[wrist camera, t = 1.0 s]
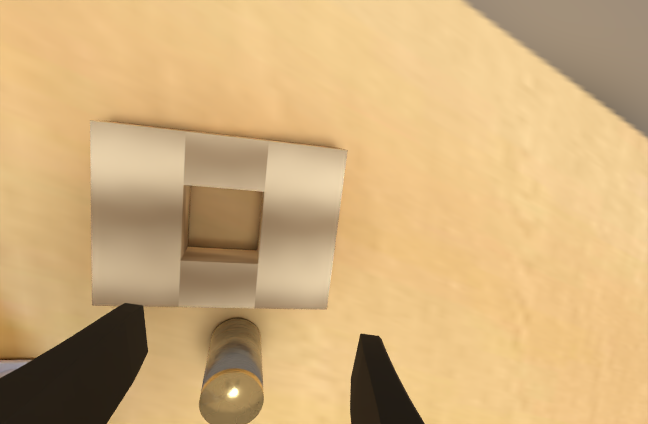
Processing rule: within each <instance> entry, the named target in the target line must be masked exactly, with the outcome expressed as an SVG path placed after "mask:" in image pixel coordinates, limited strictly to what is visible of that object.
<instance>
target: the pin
mask: <svg viewBox="0 0 648 424" xmlns="http://www.w3.org/2000/svg"><path fill="white" fill-rule="evenodd" d="M263 401H264V396H263V375H262V354H261V336H260V332H259V330H258V328H257V327H256V326H255V325H254V324H253V323H252V322H250V321H248V320H245V319H238V318H237V319H230V320H227V321H225V322H223V323H221V324H220V325H219V326H218V327H217V328H216V329H215V330H214V332H213V334H212V337H211V342H210V347H209V353H208V358H207V363H206V369H205V374H204V379H203V385H202V390H201V395H200V401H199V408H200V412H201V414H202V416H203V417H204V419H205V420H206V421H207V422H208V423H210V424H247V423H249V422H250V421H252V420H253V419H254V418H255V417H256V416H257V415H258V414H259V412H260V410H261V408H262V405H263Z"/></svg>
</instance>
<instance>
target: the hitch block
mask: <svg viewBox="0 0 648 424" xmlns="http://www.w3.org/2000/svg"><path fill="white" fill-rule="evenodd" d="M90 151H91V240H92V305H94V306H120V305H122V304H124V303H130V304H138V305H143V306H152V307H211V308H269V309H327V303H328V296H329V288H330V280H331V273H332V265H333V257H334V250H335V242H336V235H337V227H338V219H339V212H340V204H341V197H342V189H343V181H344V174H345V166H346V158H347V151H348V150H344V149H340V148H334V147H325V146H317V145H308V144H300V143H291V142H282V141H274V140H265V139H257V138H248V137H240V136H231V135H222V134H214V133H205V132H197V131H188V130H179V129H171V128H162V127H154V126H145V125H137V124H128V123H119V122H111V121H92V120H90ZM190 186H202V187H214V188H226V189H237V190H249V191H261V192H262V204H261V215H260V227H259V239H258V250H240V249H220V248H201V247H188V231H189V208H190Z"/></svg>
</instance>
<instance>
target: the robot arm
mask: <svg viewBox="0 0 648 424" xmlns="http://www.w3.org/2000/svg"><path fill="white" fill-rule="evenodd" d="M147 353H148V347H147V337H146V328H145V319H144V309H143V305H138V304H130V303H124V304H122V305H120V306H119V307H117V308H115V309H114V310H112V311H111V312H109V313H108V314H106V315H104V316H103V317H101V318H100V319H98V320H97V321H95V322H94V323H92V324H91V325H89V326H87V327H86V328H84V329H83V330H81V331H80V332H78V333H76V334H75V335H73V336H72V337H70V338H68V339H67V340H65V341H64V342H62V343H60V344H59V345H57V346H56V347H54V348H52V349H50V350H49V351H47V352H45V353H44V354H42V355H40V356H38V357H37V358H35V359H33V360H0V424H107V422H108V421H109V419H110V417H111V416H112V414H113V413H114V411H115V410H116V408H117V407H118V405H119V404H120V402H121V401H122V399H123V397H124V396H125V394H126V393H127V391H128V390H129V388H130V386H131V385H132V383H133V382H134V380H135V378H136V376H137V374H138V372H139V370H140V368H141V366H142V364H143V361H144V359H145V357H146V355H147ZM350 413H351V424H425V423H424V422H423V420H422V418H421V417H420V415H419V413H418V412H417V410H416V408H415V407H414V405H413V403H412V401H411V400H410V398H409V396H408V394H407V392H406V390H405V389H404V387H403V385H402V383H401V381H400V379H399V377H398V375H397V373H396V371H395V369H394V367H393V365H392V363H391V361H390V358H389V356H388V354H387V352H386V349H385V347H384V344H383V342H382V339H381V338H380V337H379V336H375V335H367V334H360V338H359V343H358V348H357V352H356V357H355V362H354V367H353V371H352V376H351V397H350Z"/></svg>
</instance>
